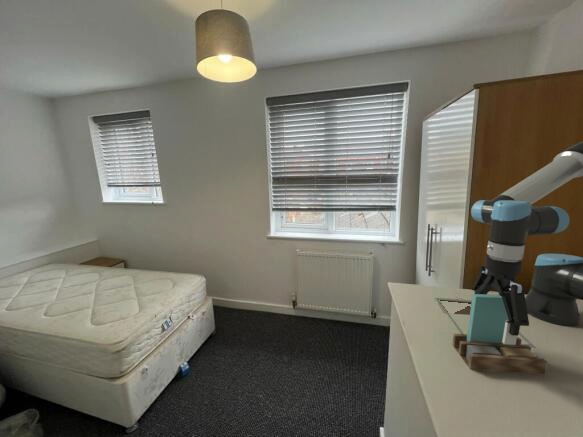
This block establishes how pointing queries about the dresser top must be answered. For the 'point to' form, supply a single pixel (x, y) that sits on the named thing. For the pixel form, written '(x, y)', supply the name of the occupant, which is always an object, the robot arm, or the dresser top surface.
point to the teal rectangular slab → (487, 319)
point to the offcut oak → (516, 352)
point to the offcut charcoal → (481, 350)
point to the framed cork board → (467, 312)
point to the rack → (498, 358)
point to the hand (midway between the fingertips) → (492, 328)
